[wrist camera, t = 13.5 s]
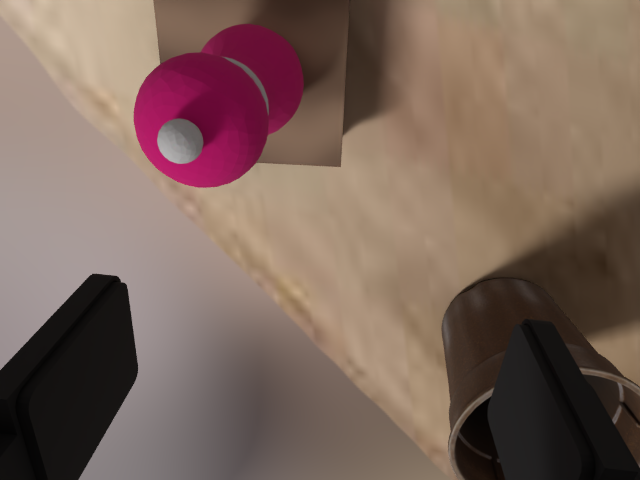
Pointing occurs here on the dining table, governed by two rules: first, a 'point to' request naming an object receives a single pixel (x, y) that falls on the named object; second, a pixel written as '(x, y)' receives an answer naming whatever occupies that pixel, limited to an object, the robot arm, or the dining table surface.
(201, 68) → the pepper mill
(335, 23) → the wooden stool
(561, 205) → the dining table surface
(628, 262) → the dining table surface
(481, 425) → the plant pot
